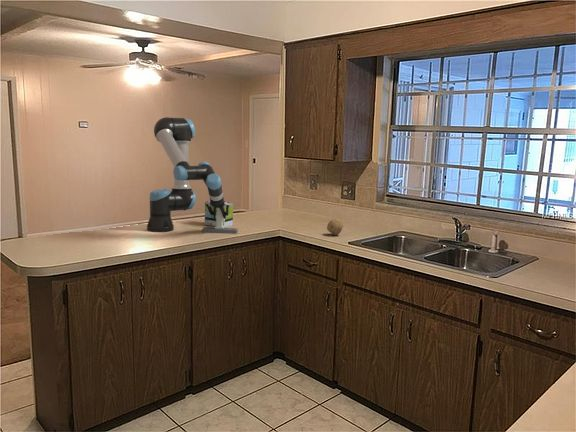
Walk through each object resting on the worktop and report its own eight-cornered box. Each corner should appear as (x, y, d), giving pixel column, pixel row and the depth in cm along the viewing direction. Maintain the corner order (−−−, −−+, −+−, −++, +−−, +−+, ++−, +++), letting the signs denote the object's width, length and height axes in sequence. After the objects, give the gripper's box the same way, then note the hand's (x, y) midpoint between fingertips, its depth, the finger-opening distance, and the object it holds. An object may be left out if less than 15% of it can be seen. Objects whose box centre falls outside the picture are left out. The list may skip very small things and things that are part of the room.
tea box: (204, 225, 293) (204, 201, 290) (213, 223, 302) (214, 200, 299) (223, 228, 286) (224, 204, 283) (233, 225, 295) (233, 202, 292)
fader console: (202, 232, 271) (202, 228, 271) (204, 230, 277) (204, 226, 277) (236, 233, 271) (236, 230, 271) (237, 231, 277) (237, 228, 276)
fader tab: (214, 228, 272) (215, 206, 269) (215, 227, 276) (216, 205, 273) (223, 228, 272) (223, 206, 269) (224, 227, 276) (224, 205, 273)
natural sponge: (329, 237, 271) (330, 220, 269) (324, 234, 279) (325, 217, 278) (344, 236, 273) (345, 220, 272) (338, 233, 282) (339, 217, 280)
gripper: (200, 201, 255) (206, 225, 274) (230, 202, 255) (233, 226, 274) (202, 190, 260) (208, 215, 279) (231, 191, 259) (235, 216, 278)
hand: (220, 220), depth 276 cm, fingers closed on fader tab, 3 cm apart
